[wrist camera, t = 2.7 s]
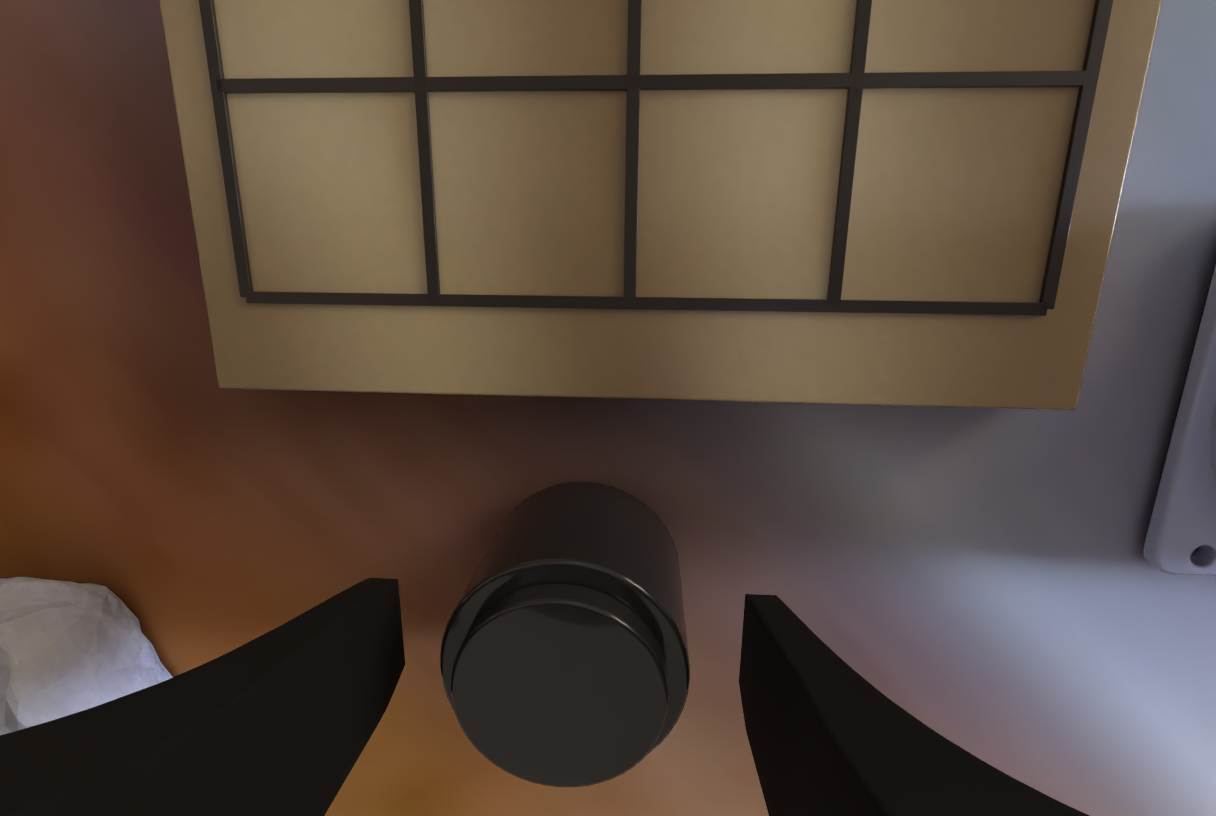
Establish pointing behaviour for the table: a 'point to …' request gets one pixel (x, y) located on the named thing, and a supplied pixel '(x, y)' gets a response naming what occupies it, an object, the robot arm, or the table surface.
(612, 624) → the black canister
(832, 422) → the table surface
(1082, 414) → the table surface
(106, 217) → the table surface
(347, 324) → the board
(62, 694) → the stone block
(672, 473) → the table surface
